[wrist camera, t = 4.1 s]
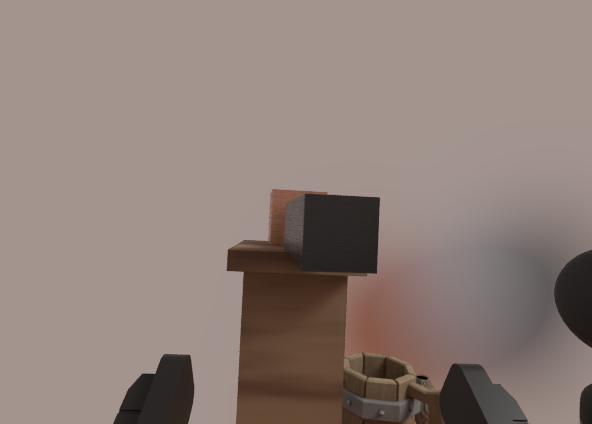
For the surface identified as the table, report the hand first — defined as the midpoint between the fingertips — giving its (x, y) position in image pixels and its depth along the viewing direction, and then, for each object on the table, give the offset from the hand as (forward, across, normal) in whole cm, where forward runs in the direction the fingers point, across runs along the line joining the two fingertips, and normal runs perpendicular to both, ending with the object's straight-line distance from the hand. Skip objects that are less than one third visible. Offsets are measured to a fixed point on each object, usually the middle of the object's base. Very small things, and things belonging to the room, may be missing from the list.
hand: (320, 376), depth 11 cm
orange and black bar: (+15, -1, +6) cm, 16 cm away
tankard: (+17, -16, +44) cm, 50 cm away
